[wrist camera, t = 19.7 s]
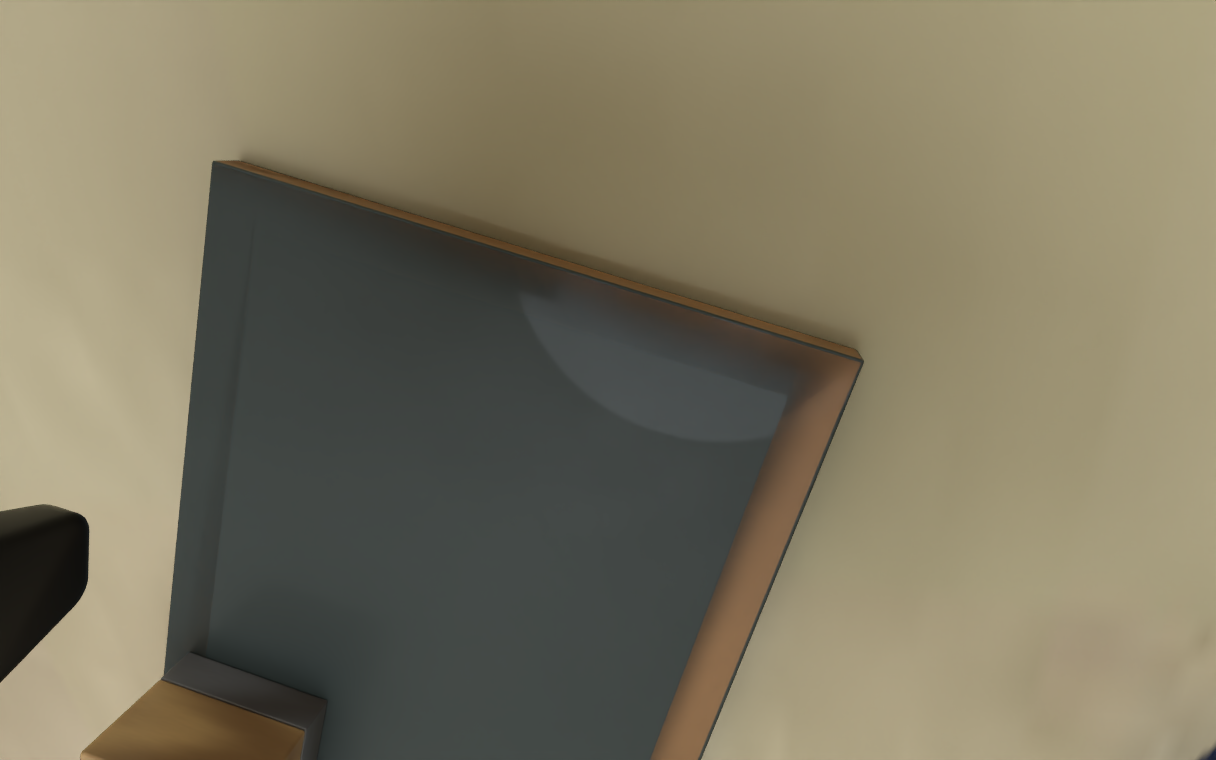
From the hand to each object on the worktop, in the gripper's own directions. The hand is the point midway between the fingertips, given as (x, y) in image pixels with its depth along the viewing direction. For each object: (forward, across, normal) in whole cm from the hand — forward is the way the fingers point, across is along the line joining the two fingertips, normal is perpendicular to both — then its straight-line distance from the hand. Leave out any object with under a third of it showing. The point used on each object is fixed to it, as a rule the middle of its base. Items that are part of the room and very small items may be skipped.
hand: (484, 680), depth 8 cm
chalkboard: (+12, +3, +10) cm, 16 cm away
